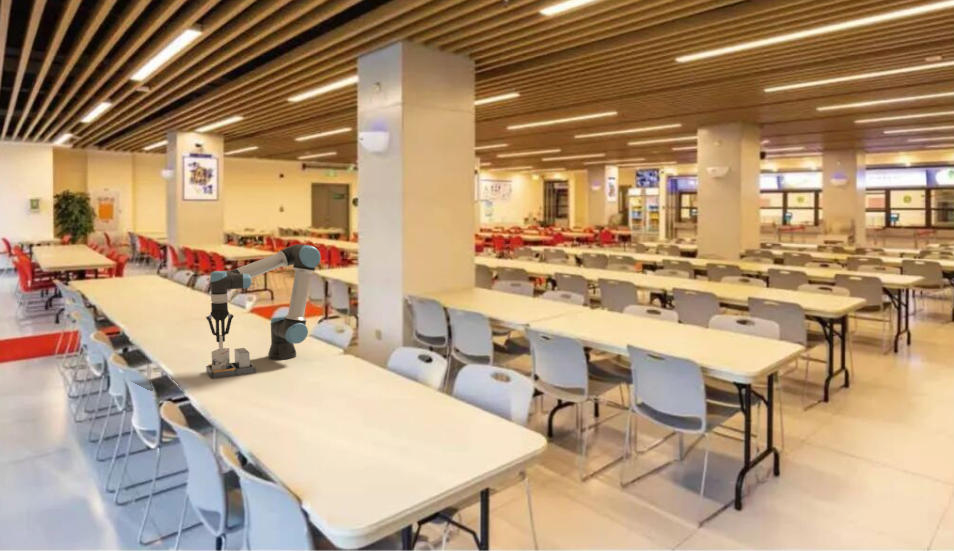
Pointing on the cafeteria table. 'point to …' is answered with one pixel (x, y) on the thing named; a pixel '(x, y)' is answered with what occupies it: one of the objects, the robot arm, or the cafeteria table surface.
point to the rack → (234, 366)
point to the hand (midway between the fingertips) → (220, 348)
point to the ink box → (220, 359)
